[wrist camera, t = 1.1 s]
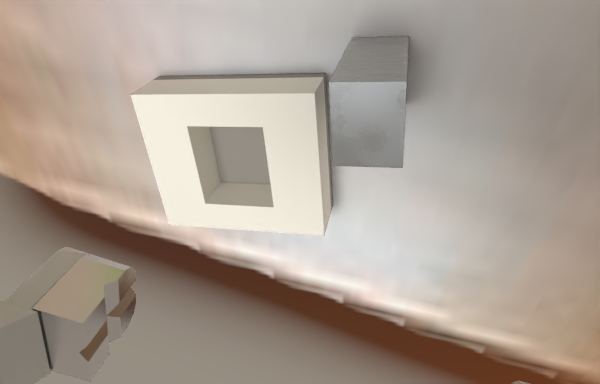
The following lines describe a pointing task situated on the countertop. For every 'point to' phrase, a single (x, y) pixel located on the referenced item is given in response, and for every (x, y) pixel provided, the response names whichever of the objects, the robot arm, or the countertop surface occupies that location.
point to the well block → (240, 150)
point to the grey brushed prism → (369, 103)
